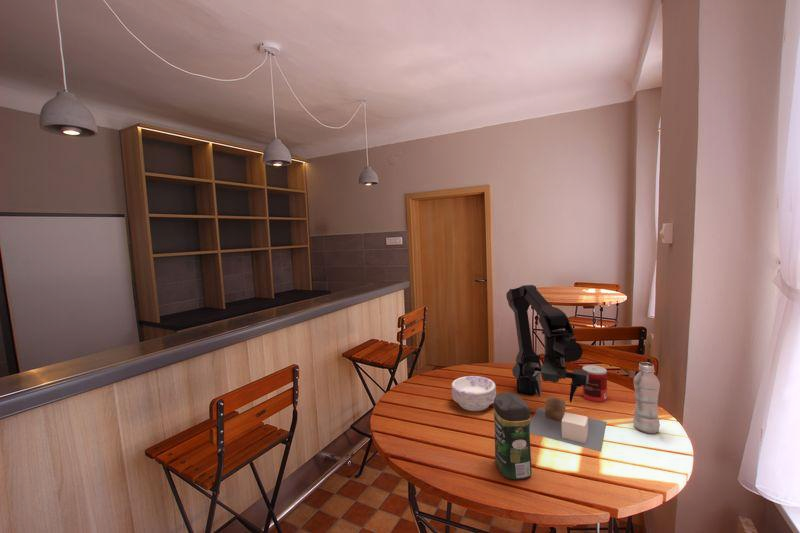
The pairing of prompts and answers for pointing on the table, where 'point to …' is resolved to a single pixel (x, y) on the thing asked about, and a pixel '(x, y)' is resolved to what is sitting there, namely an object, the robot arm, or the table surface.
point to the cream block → (575, 427)
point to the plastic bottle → (646, 399)
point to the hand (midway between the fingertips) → (554, 398)
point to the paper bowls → (473, 392)
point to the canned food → (595, 384)
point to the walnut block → (554, 408)
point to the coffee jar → (512, 436)
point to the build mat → (554, 430)
